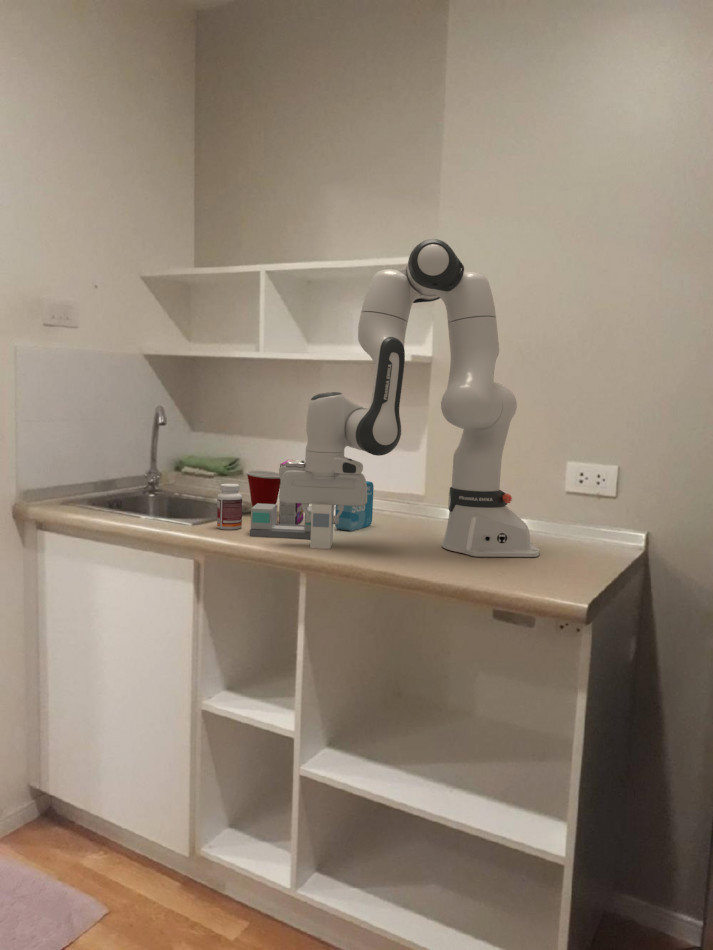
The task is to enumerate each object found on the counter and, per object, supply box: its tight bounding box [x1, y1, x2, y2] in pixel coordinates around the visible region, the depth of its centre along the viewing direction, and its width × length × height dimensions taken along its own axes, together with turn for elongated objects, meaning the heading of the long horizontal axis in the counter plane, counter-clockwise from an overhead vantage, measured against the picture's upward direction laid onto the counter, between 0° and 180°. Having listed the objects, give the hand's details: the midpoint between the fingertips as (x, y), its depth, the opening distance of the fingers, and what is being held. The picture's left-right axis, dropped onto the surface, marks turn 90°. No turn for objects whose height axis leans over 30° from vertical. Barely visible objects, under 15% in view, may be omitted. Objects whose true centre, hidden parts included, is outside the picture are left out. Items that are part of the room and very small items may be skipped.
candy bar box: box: [278, 458, 305, 525], centre depth 198 cm, size 11×5×16 cm, turn 174°
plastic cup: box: [245, 469, 280, 508], centre depth 209 cm, size 11×11×12 cm
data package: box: [334, 480, 375, 532], centre depth 195 cm, size 12×4×12 cm, turn 150°
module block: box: [309, 503, 335, 550], centre depth 171 cm, size 4×7×10 cm, turn 177°
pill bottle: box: [216, 483, 243, 531], centre depth 187 cm, size 6×6×11 cm
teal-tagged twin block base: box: [249, 503, 312, 540], centre depth 183 cm, size 18×10×7 cm, turn 87°
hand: (322, 523), depth 171 cm, fingers closed on module block, 4 cm apart
